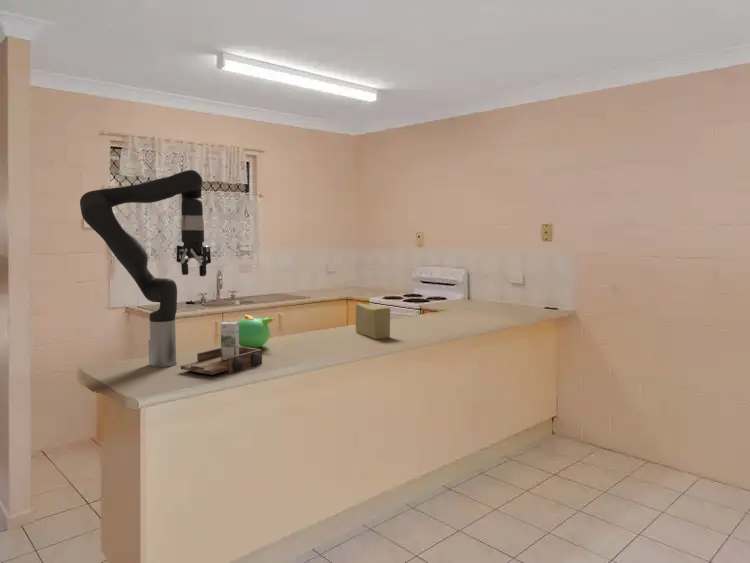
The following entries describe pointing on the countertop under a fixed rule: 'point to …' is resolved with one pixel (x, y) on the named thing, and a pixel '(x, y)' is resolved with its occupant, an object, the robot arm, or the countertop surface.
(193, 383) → the countertop surface
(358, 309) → the olive rectangular block
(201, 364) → the tailgate
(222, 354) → the syrup box
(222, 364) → the cart
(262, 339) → the green ball creature
